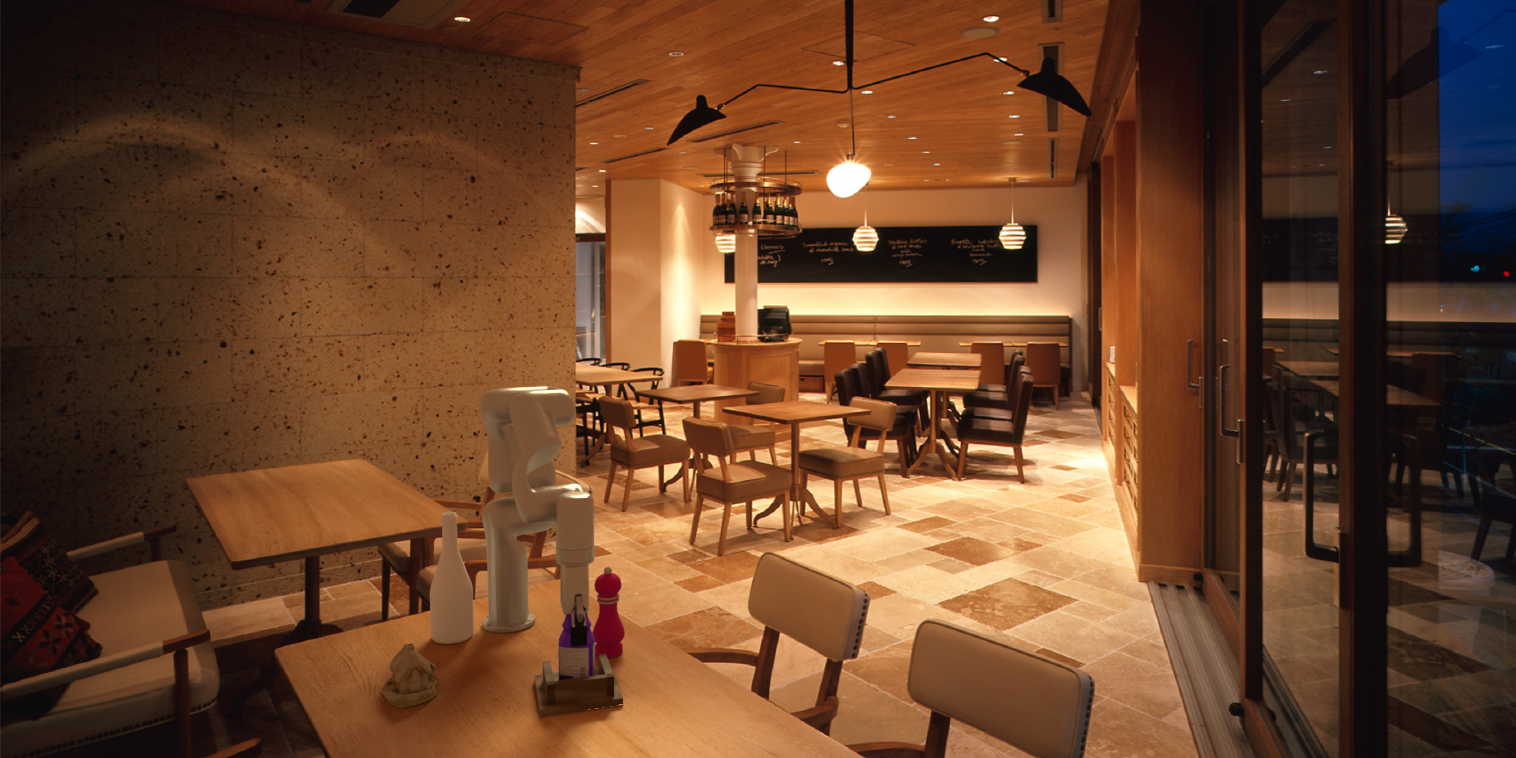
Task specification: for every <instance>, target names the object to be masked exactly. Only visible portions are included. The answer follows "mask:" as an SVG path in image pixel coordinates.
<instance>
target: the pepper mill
mask: <svg viewBox="0 0 1516 758" xmlns="http://www.w3.org/2000/svg"><path fill="white" fill-rule="evenodd" d="M612 571H613V570H612V567H610V566H606V567H605V568H604V569H603V573H601V574H599V575H598V576H597V577H596V579H595V581H594V590H595V592H596V593H597V595H596V598H597V599H596V602H597V603H598V606H599V611H598V616H597V619H596V621H595V624H594V626H593V629H592V633H593V635H594V638H595V657H596V656H597V657H598V658H599V655H600V654H606V655H607V658H608V659H611V658H612V659H613V658H616V657H619V656H621V655H622V654H623V652H624V645H623V643H622V641H623V640H624V638H625V635H626V633H625V628H624V624H623V622H622V619H621V617H620V614H619V612H618V602H619V601H620V594H619V592H620V591H621V590H622V580H621V577H620V576H619V575H618V574H616V573H614V572H612Z"/></svg>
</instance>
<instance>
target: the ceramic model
mask: <svg viewBox="0 0 1516 758" xmlns="http://www.w3.org/2000/svg"><path fill="white" fill-rule="evenodd" d="M389 670H390V672H392V673H391V677H390V678H387V679H386V681H385V682H384V684H383V687H382V689H381V692H382V693H381V694H382V695H383V697H384V698H385V700H386V701H388V703H390V704H391V705H392V706H393V707H397V708H407V707H413V706H417V705H420V704H423V703H427V702H428V701H431V700H432V699H433V698H434V697H435V696H437V692H438V691H437V687H438V684H439V682H440V680H439V675H435V670H437V666H436V665H435V663H434V662H431V661H430V660H428V659H426V658H425V657H424V656H423V655H422V654H421V653H420V652H419V651H417V650H416V648H415V645H414V643H406V644H403V647H402V648H401V649H400V650H399V651H398V652H397V653H396V654H395V655H394V657H393V659H392V660H391V662H390V663H389Z"/></svg>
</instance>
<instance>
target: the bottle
mask: <svg viewBox="0 0 1516 758" xmlns="http://www.w3.org/2000/svg"><path fill="white" fill-rule="evenodd" d="M573 611H576V610H573ZM585 614H586V625H587V645H584V646H575V647H572V646H571V644H570V626H572V622H571V614H567V615H566V616H565V618H564V620H563V622H562V623H561V626H562V631H561V633H560V635H559V639H558V646H557V647H558V672H559V680H565V679H573V678H581V677H589V676H595V667H596V655H595V645H596V642H595V638H594V635H593V630H591V627H592V621H591V620H590V619H589V616H588V612H587V613H585ZM575 617H577V615H576V616H574V619H575Z"/></svg>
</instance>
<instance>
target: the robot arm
mask: <svg viewBox="0 0 1516 758" xmlns="http://www.w3.org/2000/svg"><path fill="white" fill-rule="evenodd" d="M479 413H480V418H481V421H482V424H483V427H484V430H485V433H486V436H487V475H488V479H487V480H488V484H489V487H490V489H491V490H492V491H493V492H494V493H497V494H510V493H511V494H512V495H513V496H504V497H501V498H500V497H499V498H496V499H492V500H490V501H489V502H487V503H486V504H485V505H484V507H483V509H482V513H481V520H482V527H483V530H484V536H485V542H486V543H485V545H486V563H487V566H486V567H487V601H488V603H487V604H488V605H487V607H488V615H487V616H485V617H484V618H483V620H482V621H481V624H482V625H481V626H482V628H483V629H484V630H486V631H488V632H492V633H500V634H501V633H502V634H503V633H505V634H506V633H512V632H514V633H515V632H518V631H523V630H526V629H527V628H529V627H531V626H533V625H534V624H535V623H536V616H535V614H534V613H533V612H530V610H529V609H530V608H529V571H528V570H529V567H528V566H529V564H528V563H529V562H528V561H529V560H528V552H527V550H526V547H525V546H524V545H523V543H521V542H520V540H518V539H517V537H518V536H523V535H527V534H528V535H529V534H535V533H541V532H546V531H549V530H551V529H552V528H553V526H554V524H555V561H556V562H555V563H556V564H557V565H559V566H560V573H559V575H560V582H559V583H560V586H559V587H560V589H559V594H560V595H559V601H560V603H559V604H560V606H561V610H562V614H563V615H564V616H565V617H566V615H567V614H571V622H572V626H570V644H571V646H572V647H575V646H584V645H587V625H586V614H585V613H587V614H588V612H589V606H590V569H589V568H590V564H592V563H593V562H595V501H594V496H593V495H592V494H591V493H589V492H587V490H585V488H584V487H583V486H582V485H581V484H579V483H575V482H574V483H564V484H556V479H557V477H556V476H557V475H556V468H555V467H556V466H555V462H554V459H555V458H556V457H557V456H558V455H560V453H561V450H562V448H563V447H562V446H563V443H562V440H561V438H560V436H559V435H560V434H559V433H558V430H557V427H563V426H565V427H566V426H569V425H571V424H572V423H574V420H575V417H576V405H575V401H574V399H573V397H572V396H571V394H570V393H569V392H568V391H567V390H565V389H563V388H558V387H554V386H546V385H545V386H543V385H542V386H540V385H539V386H525V387H520V386H519V387H518V386H517V387H502V388H494V389H490V390H487V391H486V392H484V393H483V394H482V396H481V397H480V402H479ZM573 610H576V611H573ZM576 615H577V617H575V619H574V616H576Z"/></svg>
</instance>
